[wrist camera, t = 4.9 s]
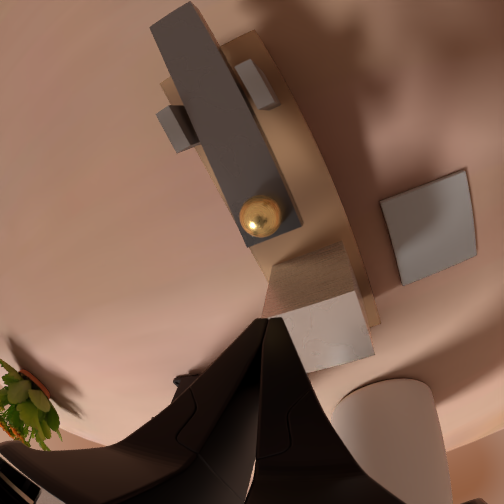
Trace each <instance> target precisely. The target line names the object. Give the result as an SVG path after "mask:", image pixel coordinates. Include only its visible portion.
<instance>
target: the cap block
mask: <svg viewBox="0 0 504 504" xmlns="http://www.w3.org/2000/svg"><path fill="white" fill-rule="evenodd" d="M273 317H282V318H283V320H284V322H285V325H286V327H287V329H288V331H289V334H290V336H291V338H292V341H293V343H294V345H295V348H296V350H297V352H298V355H299V357H300V359H301V362H302V364H303V366H304V369H305V371H306V373H310V372H314V371H318V370H322V369H326V368H330V367H334V366H338V365H342V364H345V363H349V362H353V361H356V360H359V359H363V358H366V357H369V356H373V355H375V352H374V347H373V342H372V337H371V333H370V328H369V324H368V319H367V315H366V311H365V307H364V303H363V298H362V295H361V292H360V289H359V286H358V283H357V280H356V278H355V275H354V272H353V269H352V266H351V263H350V261H349V258H348V255H347V252H346V250H345V247H344V244H343V242H342V241H339V242H337V243H334V244H331V245H329V246H326V247H323V248H320V249H318V250H315V251H312V252H309V253H307V254H304V255H301V256H298V257H296V258H293V259H290V260H287V261H284V262H282V263H279V264H276V265H273V266H272V270H271V274H270V279H269V284H268V289H267V294H266V299H265V304H264V308H263V313H262V318H268V319H270V318H273Z"/></svg>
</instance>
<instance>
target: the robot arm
mask: <svg viewBox="0 0 504 504" xmlns="http://www.w3.org/2000/svg"><path fill="white" fill-rule="evenodd" d="M173 383H174V384H175V385H176V386H177V387H178V388H177V390H176V392H175V395H174V397H173V400H172V402H171V404H170V405H169V406H168V407H166V408H165V409H164V410H163V411H161V412H160V413H159V414H158V415H156V416H155V417H152V419H151V420H150V421H148V422H147V423H146V424H144V425H143V426H142V427H140V428H139V429H137V430H136V431H135V432H133V433H132V434H131V435H129V436H128V437H126V438H125V439H123V440H122V441H120V442H118V443H116V444H113V445H110V446H106V447H100V448H91V449H78V450H63V451H62V450H61V451H40V450H35V449H32V448H29V447H28V446H26V445H25V444H23V443H22V442H21V441H19V440H13V441H5V442H2V443H0V453H1V454H2V455H3V456H4V457H5V458H6V459H7V460H8V461H9V462H11V463H12V464H13V465H14V466H15V467H16V468H18V469H19V470H20V471H21V472H22V473H23V474H25V475H26V476H27V477H28V478H30V479H31V480H32V481H34V482H35V483H36V484H35V483H34V482H32V481H31V480H30V479H28V478H27V477H26V476H24V475H23V474H22V473H20V472H19V471H18V470H16V469H15V468H14V467H12V466H11V465H10V464H8V463H7V462H6V461H5V460H3V459H2V458H1V457H0V504H407V503H405V502H404V501H402V500H401V499H399V498H398V497H397V496H395V495H394V494H393V493H391V492H390V491H388V490H387V489H386V488H384V487H383V486H382V485H380V484H379V483H378V482H377V481H375V480H374V479H373V478H371V477H370V476H369V475H368V474H367V473H366V472H365V471H364V470H363V469H362V468H361V466H360V465H359V464H358V463H357V461H356V460H355V459H354V457H353V456H352V454H351V453H350V451H349V450H348V448H347V447H346V445H345V444H344V443H343V441H342V440H341V438H340V437H339V435H338V434H337V432H336V431H335V429H334V428H333V426H332V424H331V423H330V421H329V419H328V418H327V416H326V414H325V413H324V411H323V409H322V407H321V405H320V403H319V400H318V398H317V396H316V394H315V391H314V390H313V387H312V385H311V382H310V380H309V378H308V375H307V373H306V371H305V369H304V366H303V364H302V362H301V359H300V357H299V355H298V352H297V350H296V348H295V345H294V343H293V341H292V338H291V336H290V334H289V331H288V329H287V327H286V325H285V322H284V320H283V318H282V317H273V318H270V319H268V318H257V319H255V320H254V321H253V322H252V323H251V324H250V325H249V326H248V327H247V328H246V329H245V330H244V331H243V332H242V333H241V334H240V336H239V337H238V338H237V339H236V340H235V341H234V342H233V343H232V344H231V345H230V346H229V347H228V348H227V349H226V350H225V351H224V352H223V353H222V354H221V355H220V356H219V357H218V358H217V359H216V360H215V361H214V362H213V363H212V364H211V365H210V366H209V367H208V368H207V369H206V370H205V371H204V372H203V373H202V374H201V375H195V376H187V377H179V378H174V380H173ZM255 457H256V462H255V471H254V477H253V481H252V484H251V487H250V489H249V492H248V494H247V489H248V486H249V482H250V478H251V474H252V470H253V466H254V461H255ZM38 485H39V486H40V487H39V486H38ZM246 494H247V497H246ZM245 498H246V499H245ZM244 501H245V502H244ZM462 504H487V503H486V502H485V501H484V500H483V499H482V498H477V499H473V500H470V501H467V502H465V503H462Z"/></svg>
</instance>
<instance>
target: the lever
mask: <svg viewBox="0 0 504 504" xmlns="http://www.w3.org/2000/svg"><path fill="white" fill-rule="evenodd" d="M150 30H151V32H152V34H153V37H154V39H155V41H156V43H157V46H158V48H159V50H160V52H161V55H162V57H163V59H164V62H165V64H166V66H167V68H168V71H169V73H170V75H171V77H172V80H173V82H174V84H175V86H176V89H177V91H178V93H179V96H180V98H181V100H182V102H183V105H184V107H185V109H186V111H187V114H188V116H189V118H190V120H191V123H192V125H193V127H194V129H195V132H196V134H197V136H198V138H199V141H200V143H201V145H202V147H203V150H204V152H205V154H206V156H207V159H208V161H209V163H210V165H211V168H212V170H213V172H214V174H215V177H216V179H217V181H218V183H219V186H220V188H221V190H222V192H223V195H224V197H225V199H226V201H227V204H228V206H229V208H230V210H231V212H232V215H233V217H234V219H235V221H236V224H237V226H238V228H239V230H240V233H241V235H242V237H243V239H244V242H245V244H246V246H247V248H248V247H251V246H253V245H256V244H258V243H261V242H264V241H266V240H269V239H271V238H274V237H276V236H279V235H282V234H284V233H287V232H289V231H292V230H295V229H297V228H300V227H302V225H303V223H304V221H303V218H302V216H301V214H300V211H299V209H298V207H297V204H296V202H295V199H294V197H293V195H292V193H291V190H290V188H289V186H288V183H287V181H286V179H285V177H284V174H283V172H282V170H281V168H280V165H279V163H278V161H277V159H276V157H275V154H274V152H273V150H272V148H271V146H270V144H269V142H268V139H267V137H266V135H265V133H264V131H263V129H262V127H261V125H260V123H259V121H258V119H257V117H256V114H255V112H254V110H253V108H252V106H251V104H250V102H249V100H248V98H247V96H246V94H245V93H244V91H243V89H242V87H241V85H240V83H239V81H238V79H237V77H236V75H235V73H234V71H233V69H232V68H231V66H230V64H229V62H228V60H227V58H226V56H225V55H224V53H223V51H222V49H221V47H220V46H219V44H218V42H217V40H216V38H215V37H214V35H213V33H212V31H211V30H210V28H209V26H208V24H207V23H206V21H205V19H204V18H203V16H202V14H201V13H200V11H199V9H198V8H197V7H196V6H195V5H194V4H193V3H192V2H191V1H189V2H188V3H186V4H184V5H183V6H181V7H179V8H178V9H176V10H174V11H173V12H171V13H170V14H168V15H167V16H165V17H164V18H162V19H161V20H159V21H158V22H156V23H155V24H153V25H152V26H151V27H150Z"/></svg>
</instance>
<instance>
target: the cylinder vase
mask: <svg viewBox="0 0 504 504" xmlns="http://www.w3.org/2000/svg"><path fill="white" fill-rule="evenodd" d="M332 426H333V428H334V429H335V431H336V432H337V434H338V435H339V437H340V438H341V440H342V441H343V443H344V444H345V445H346V447H347V448H348V450H349V451H350V453H351V454H352V456H353V457H354V459H355V460H356V461H357V463H358V464H359V465H360V466H361V468H362V469H363V470H364V471H365V472H366V473H367V474H368V475H369V476H370V477H371V478H373V479H374V480H375V481H377V482H378V483H379V484H380V485H382V486H383V487H384V488H386V489H387V490H388V491H390V492H391V493H393V494H394V495H395V496H397V497H398V498H399V499H401V500H402V501H404V502H405V503H407V504H453V501H452V492H451V483H450V475H449V469H448V462H447V456H446V451H445V446H444V441H443V436H442V431H441V427H440V422H439V418H438V414H437V410H436V406H435V402H434V398H433V394H432V391H431V389H430V388H429V387H428V386H427V385H426V384H425V383H423V382H421V381H418V380H414V379H391V380H385V381H381V382H377V383H373V384H370V385H368V386H365V387H363V388H360V389H358V390H356V391H354V392H352V393H351V394H349V395H348V396H346V397H345V398H344V399H342V400H341V401H340V402H339V403H338V404H337V406H336V407H335V409H334V411H333V413H332Z"/></svg>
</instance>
